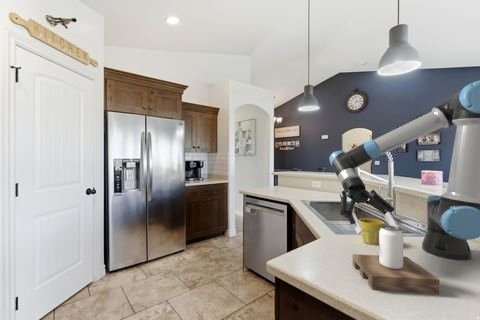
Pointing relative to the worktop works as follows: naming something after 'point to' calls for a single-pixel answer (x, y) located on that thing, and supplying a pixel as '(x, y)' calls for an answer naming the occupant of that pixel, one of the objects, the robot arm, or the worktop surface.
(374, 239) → the plant pot
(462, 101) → the robot arm
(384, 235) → the can
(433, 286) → the platform
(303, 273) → the worktop surface
